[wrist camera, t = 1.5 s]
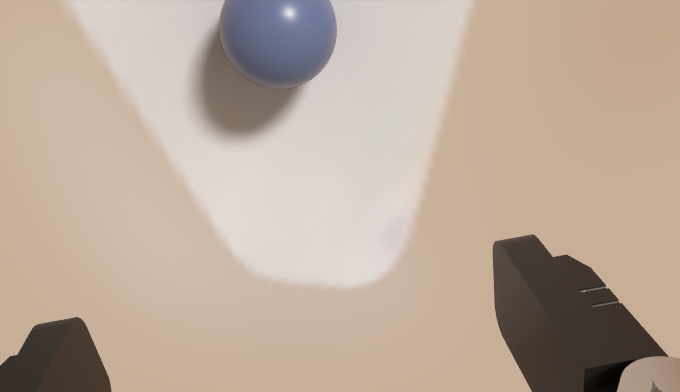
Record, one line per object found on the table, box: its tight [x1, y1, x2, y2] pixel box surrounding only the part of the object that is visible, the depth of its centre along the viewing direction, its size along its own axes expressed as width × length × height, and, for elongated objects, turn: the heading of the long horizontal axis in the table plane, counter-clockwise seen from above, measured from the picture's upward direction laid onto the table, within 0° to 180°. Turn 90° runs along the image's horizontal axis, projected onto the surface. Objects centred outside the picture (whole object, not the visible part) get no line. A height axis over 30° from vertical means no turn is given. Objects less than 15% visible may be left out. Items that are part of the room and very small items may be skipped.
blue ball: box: [219, 0, 337, 89], centre depth 25 cm, size 5×5×5 cm
